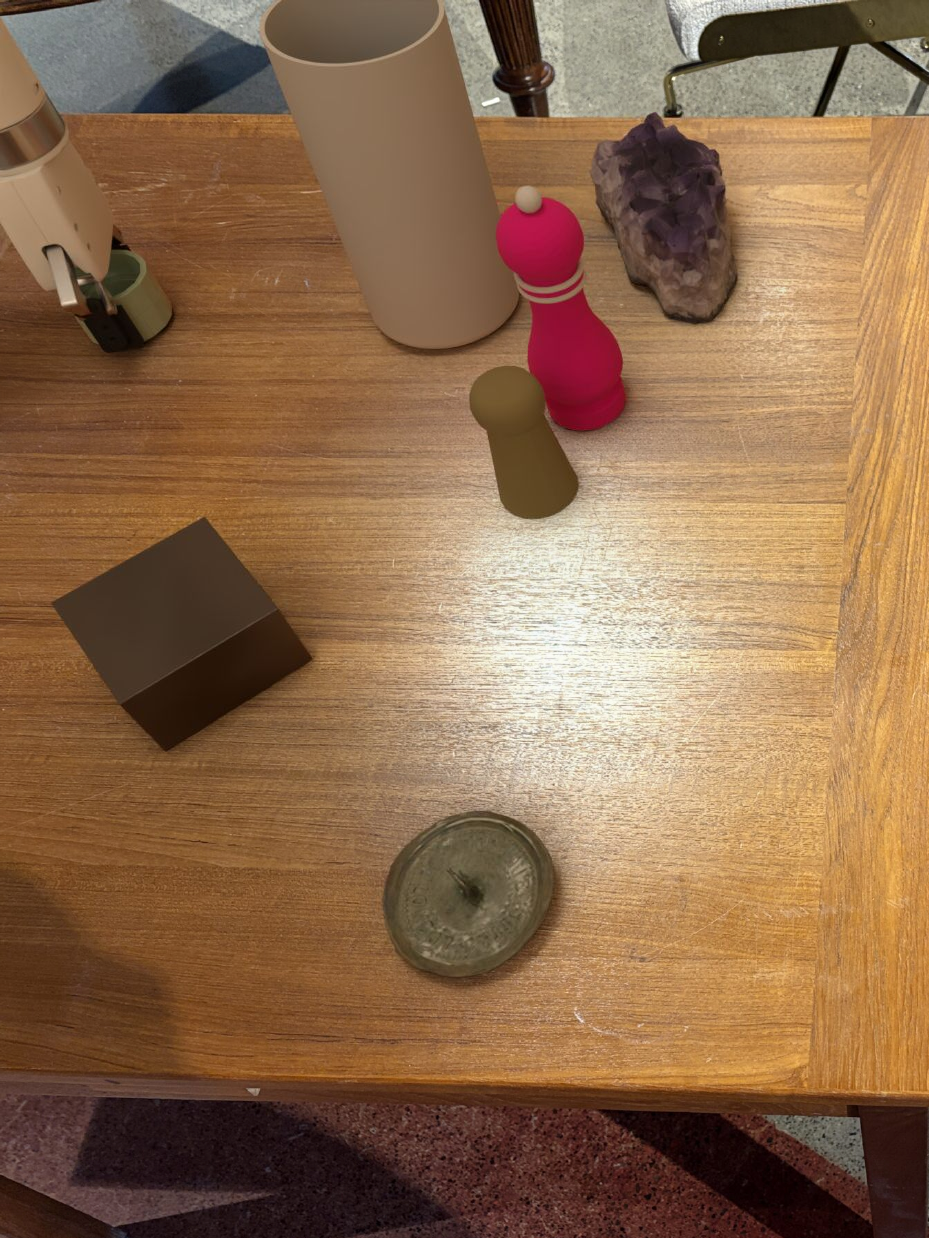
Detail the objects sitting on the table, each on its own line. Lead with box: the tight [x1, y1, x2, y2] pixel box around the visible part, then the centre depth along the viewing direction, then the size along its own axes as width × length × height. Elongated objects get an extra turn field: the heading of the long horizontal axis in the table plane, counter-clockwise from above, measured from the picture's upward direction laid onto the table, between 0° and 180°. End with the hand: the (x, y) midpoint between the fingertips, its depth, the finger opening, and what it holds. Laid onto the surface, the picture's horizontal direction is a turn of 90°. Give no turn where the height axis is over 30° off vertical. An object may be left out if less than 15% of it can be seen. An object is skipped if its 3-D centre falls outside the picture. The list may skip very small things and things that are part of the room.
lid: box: [381, 810, 555, 979], centre depth 77 cm, size 11×10×5 cm
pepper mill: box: [496, 185, 627, 432], centre depth 95 cm, size 7×7×20 cm
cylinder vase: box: [259, 0, 520, 350], centre depth 99 cm, size 12×12×25 cm
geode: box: [589, 111, 739, 324], centre depth 110 cm, size 20×12×10 cm, turn 22°
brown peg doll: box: [468, 365, 580, 520], centre depth 93 cm, size 6×6×11 cm
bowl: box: [72, 250, 173, 345], centre depth 107 cm, size 7×7×5 cm
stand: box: [50, 516, 314, 752], centre depth 87 cm, size 11×11×6 cm
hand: (127, 316), depth 109 cm, fingers closed on bowl, 7 cm apart
